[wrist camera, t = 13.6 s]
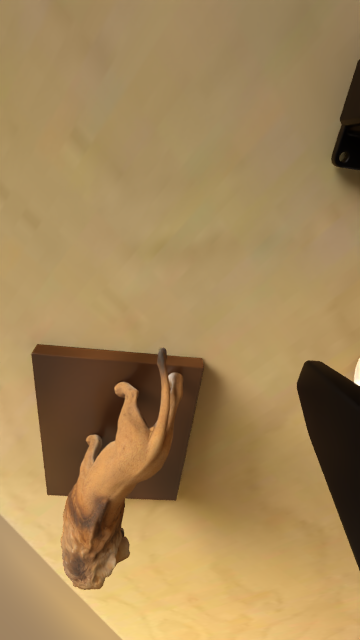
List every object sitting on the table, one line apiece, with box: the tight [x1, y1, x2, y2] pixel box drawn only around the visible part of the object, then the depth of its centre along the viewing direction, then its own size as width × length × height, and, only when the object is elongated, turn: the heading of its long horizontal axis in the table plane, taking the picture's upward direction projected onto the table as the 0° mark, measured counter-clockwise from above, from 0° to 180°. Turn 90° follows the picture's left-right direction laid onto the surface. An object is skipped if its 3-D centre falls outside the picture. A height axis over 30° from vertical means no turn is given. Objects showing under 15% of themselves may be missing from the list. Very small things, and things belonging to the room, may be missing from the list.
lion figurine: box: [61, 347, 183, 590], centre depth 21 cm, size 15×5×9 cm, turn 158°
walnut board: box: [32, 344, 204, 501], centre depth 27 cm, size 12×16×1 cm
